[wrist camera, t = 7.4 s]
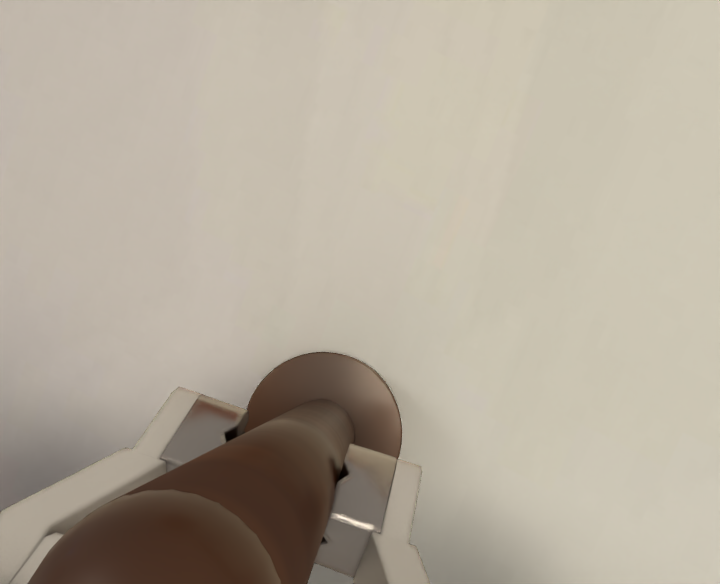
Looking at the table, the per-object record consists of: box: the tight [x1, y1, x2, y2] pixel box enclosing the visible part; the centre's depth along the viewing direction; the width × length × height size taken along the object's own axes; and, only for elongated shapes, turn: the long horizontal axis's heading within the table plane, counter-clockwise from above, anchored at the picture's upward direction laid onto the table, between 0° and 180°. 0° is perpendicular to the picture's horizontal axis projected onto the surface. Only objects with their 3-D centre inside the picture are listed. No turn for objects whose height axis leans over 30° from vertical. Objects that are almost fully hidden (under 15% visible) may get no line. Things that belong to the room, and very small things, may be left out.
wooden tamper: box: [27, 352, 402, 584], centre depth 12 cm, size 5×5×17 cm
